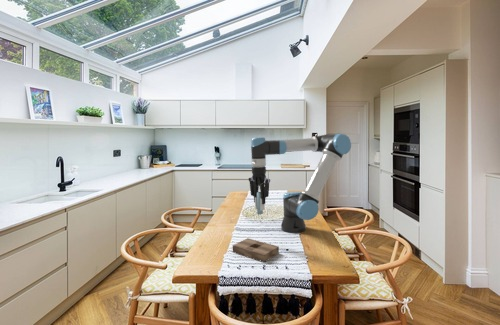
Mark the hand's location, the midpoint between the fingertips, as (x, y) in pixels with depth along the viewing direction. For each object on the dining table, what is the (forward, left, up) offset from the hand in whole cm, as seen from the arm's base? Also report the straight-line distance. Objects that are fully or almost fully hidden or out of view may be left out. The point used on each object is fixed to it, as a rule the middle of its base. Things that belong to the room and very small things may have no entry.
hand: (259, 209), depth 151 cm
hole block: (+12, +6, -19) cm, 23 cm away
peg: (0, 0, -3) cm, 3 cm away
